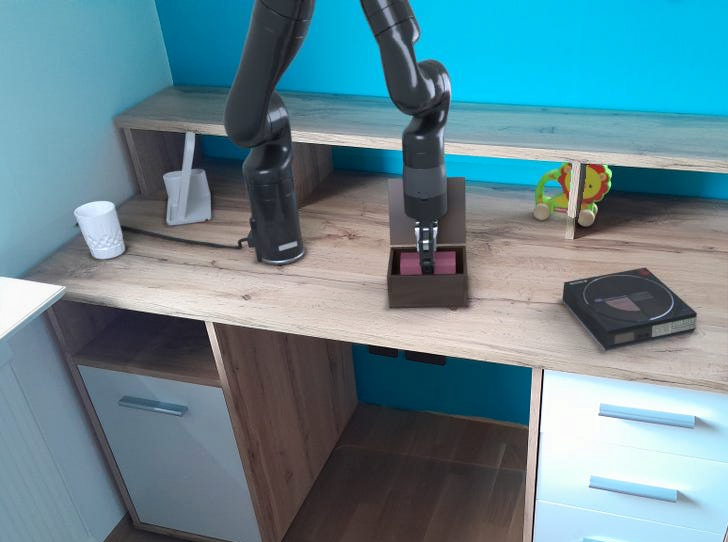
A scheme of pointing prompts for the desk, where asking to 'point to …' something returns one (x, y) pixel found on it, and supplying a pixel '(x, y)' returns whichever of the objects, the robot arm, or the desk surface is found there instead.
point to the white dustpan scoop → (187, 190)
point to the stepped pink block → (442, 259)
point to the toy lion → (593, 191)
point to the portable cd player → (628, 308)
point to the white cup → (101, 229)
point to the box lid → (448, 225)
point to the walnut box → (427, 282)
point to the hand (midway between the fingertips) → (428, 273)
